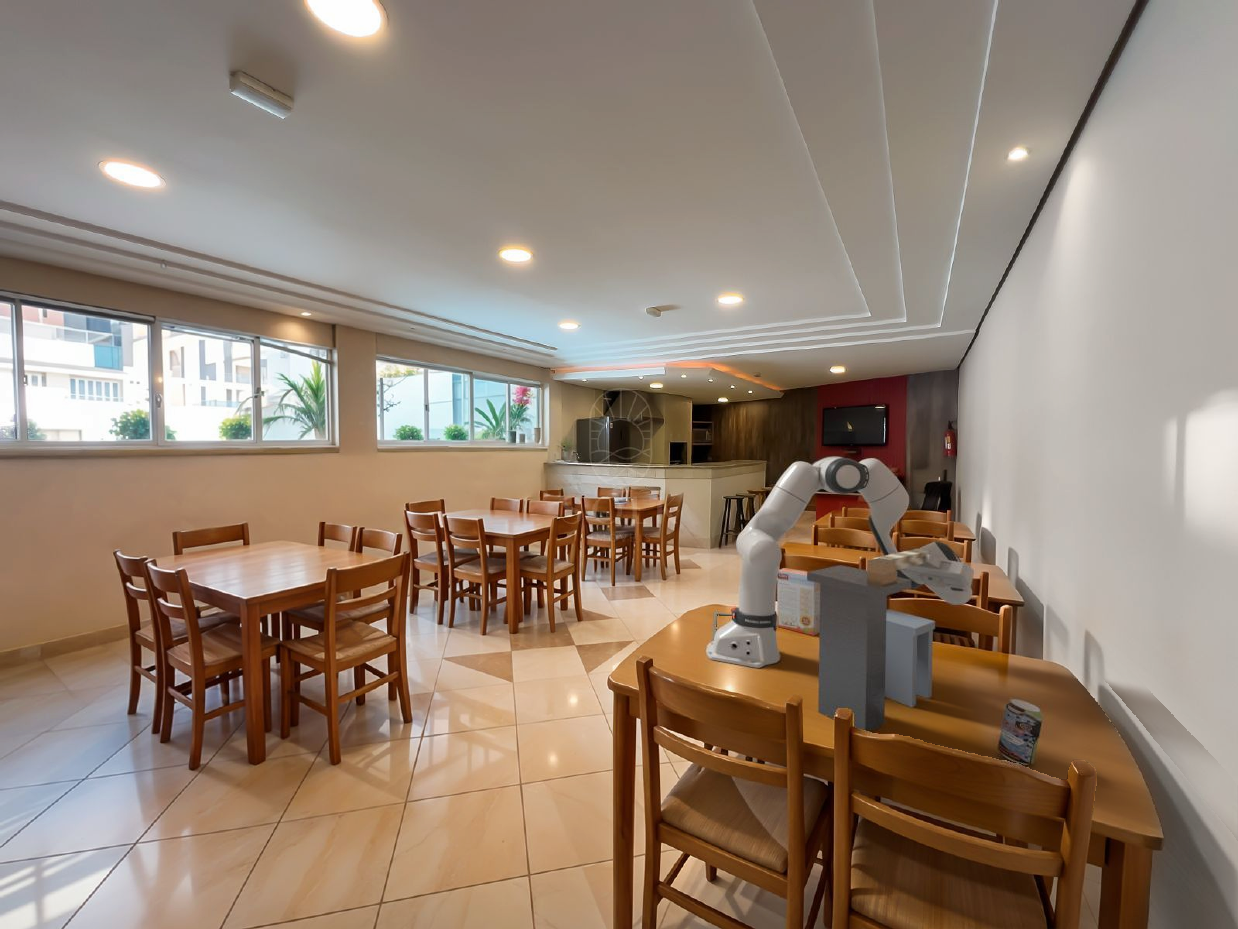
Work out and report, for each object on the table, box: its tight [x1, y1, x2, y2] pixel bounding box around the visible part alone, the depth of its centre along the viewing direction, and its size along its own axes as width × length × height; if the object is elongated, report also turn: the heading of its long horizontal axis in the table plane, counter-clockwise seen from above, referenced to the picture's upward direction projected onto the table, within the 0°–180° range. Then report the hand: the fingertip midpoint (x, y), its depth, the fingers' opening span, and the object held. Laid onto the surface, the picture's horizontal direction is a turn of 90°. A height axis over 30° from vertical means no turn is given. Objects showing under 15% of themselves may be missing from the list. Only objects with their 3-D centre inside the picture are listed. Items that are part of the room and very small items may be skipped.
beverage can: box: [997, 698, 1044, 766], centre depth 106 cm, size 6×7×12 cm
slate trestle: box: [885, 608, 936, 708], centre depth 135 cm, size 10×12×20 cm
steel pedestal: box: [806, 558, 911, 732], centre depth 124 cm, size 14×18×39 cm
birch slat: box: [872, 548, 930, 571], centre depth 134 cm, size 22×4×3 cm, turn 124°
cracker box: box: [776, 567, 820, 637], centre depth 183 cm, size 14×6×21 cm, turn 44°
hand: (916, 555), depth 139 cm, fingers closed on birch slat, 3 cm apart
